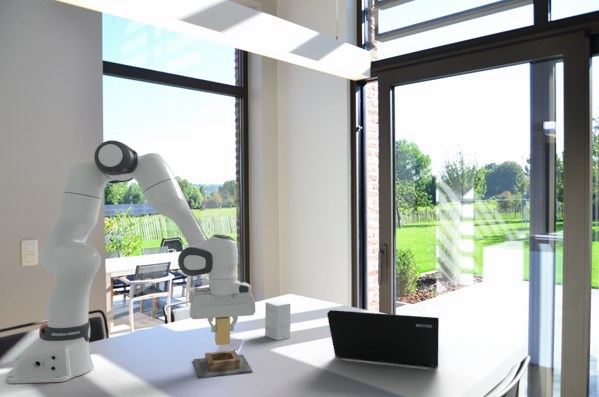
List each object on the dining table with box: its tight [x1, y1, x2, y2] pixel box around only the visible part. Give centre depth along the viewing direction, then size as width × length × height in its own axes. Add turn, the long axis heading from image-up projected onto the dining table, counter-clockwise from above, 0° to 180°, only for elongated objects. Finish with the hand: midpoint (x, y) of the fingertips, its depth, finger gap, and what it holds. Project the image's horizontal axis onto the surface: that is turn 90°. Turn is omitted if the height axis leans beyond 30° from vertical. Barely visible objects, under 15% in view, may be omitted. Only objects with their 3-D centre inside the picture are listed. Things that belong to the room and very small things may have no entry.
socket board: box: [193, 350, 253, 379], centre depth 143 cm, size 16×15×3 cm
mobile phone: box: [216, 338, 245, 355], centre depth 162 cm, size 8×1×15 cm
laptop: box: [326, 309, 440, 368], centre depth 153 cm, size 33×38×19 cm
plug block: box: [214, 317, 231, 346], centre depth 143 cm, size 4×4×8 cm
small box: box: [264, 300, 291, 341], centre depth 175 cm, size 8×6×13 cm
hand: (222, 331), depth 143 cm, fingers closed on plug block, 4 cm apart
